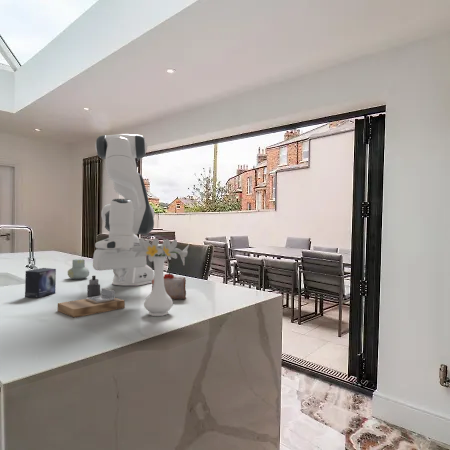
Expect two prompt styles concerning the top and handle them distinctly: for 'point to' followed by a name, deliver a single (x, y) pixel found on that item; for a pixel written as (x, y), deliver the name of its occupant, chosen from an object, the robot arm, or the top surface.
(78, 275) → the air freshener
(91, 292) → the bottle
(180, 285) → the food item
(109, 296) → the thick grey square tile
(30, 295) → the small box
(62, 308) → the socket
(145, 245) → the flower vase
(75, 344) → the top surface
